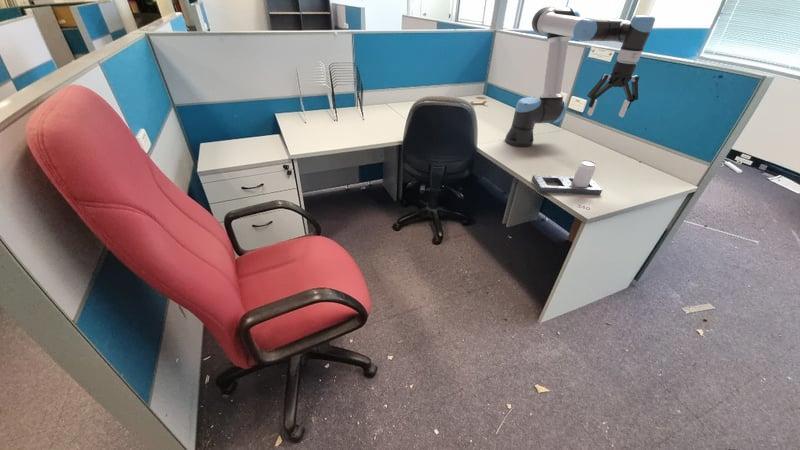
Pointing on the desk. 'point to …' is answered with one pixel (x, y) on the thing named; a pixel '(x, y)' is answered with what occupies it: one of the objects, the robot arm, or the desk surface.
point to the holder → (564, 185)
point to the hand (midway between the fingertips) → (605, 115)
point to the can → (584, 173)
